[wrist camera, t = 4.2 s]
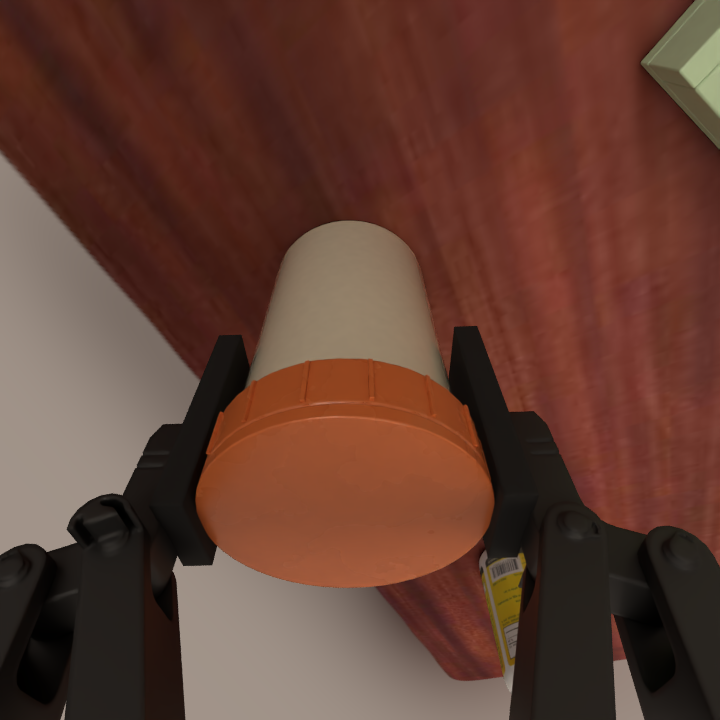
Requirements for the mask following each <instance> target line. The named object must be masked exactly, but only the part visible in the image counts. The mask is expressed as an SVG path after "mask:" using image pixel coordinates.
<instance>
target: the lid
mask: <svg viewBox="0 0 720 720" xmlns="http://www.w3.org/2000/svg"><path fill="white" fill-rule="evenodd" d="M206 454H207V458H206V461H205V464H204V467H203V470H202V473H201V476H200V479H199V482H198V485H197V488H196V496H195V504H196V512H197V514H198V516H199V519H200V521H201V523H202V525H203V527H204V529H205V531H206V533H207V535H208V536H209V538H210V539H211V540H212V541H213V542H214V543H215V544H216V545H217V546H218V547H219V548H220V549H221V550H222V551H223V552H225V553H226V554H228V555H229V556H230V557H232V558H233V559H235V560H237V561H238V562H240V563H242V564H244V565H245V566H247V567H250V568H252V569H254V570H256V571H259V572H261V573H264V574H267V575H269V576H272V577H276V578H279V579H283V580H286V581H291V582H296V583H300V584H306V585H313V586H321V587H335V588H339V587H340V588H354V587H355V588H357V587H372V586H380V585H387V584H393V583H398V582H402V581H406V580H410V579H414V578H417V577H420V576H423V575H426V574H429V573H431V572H434V571H436V570H438V569H441V568H443V567H445V566H447V565H448V564H450V563H452V562H454V561H456V560H457V559H458V558H460V557H461V556H463V555H464V554H466V553H467V552H468V551H469V550H470V549H472V548H473V547H474V546H475V545H476V544H477V543H478V541H479V540H480V539H481V538H482V537H483V535H484V534H485V532H486V531H487V529H488V527H489V525H490V521H491V517H492V513H493V509H494V505H495V498H494V490H493V487H492V483H491V477H490V474H489V470H488V467H487V463H486V459H485V456H484V452H483V449H482V445H481V441H480V440H479V437H478V433H477V430H476V427H475V424H474V422H473V420H472V418H471V416H470V413H469V409H468V406H467V405H466V404H465V405H462V404H461V402H460V401H459V400H458V399H457V398H456V397H455V396H454V395H452V394H451V393H450V392H449V391H448V390H447V389H446V388H445V387H443V386H441V385H440V384H438V383H437V382H435V381H434V380H432V379H430V376H428V375H425V376H424V375H422V374H420V373H418V372H415V371H413V370H411V369H409V368H405V367H401V366H398V365H394V364H389V363H385V362H381V361H374V360H373V359H370V358H368V359H362V358H360V359H350V358H336V359H324V360H315V361H314V360H312V361H309V360H307V361H305V363H300V364H296V365H293V366H290V367H287V368H283V369H280V370H278V371H275V372H272V373H270V374H268V375H267V376H264V377H263V378H261V379H259V380H258V381H255V380H253V381H252V382H251V385H250V386H248V387H247V388H246V389H245V390H244V391H242V392H241V393H239V394H238V395H237V396H236V397H235V399H234V400H233V401H232V402H231V403H230V404H229V405H228V406H227V408H226V409H225V411H224V413H223V412H221V411H220V413H219V415H218V418H217V421H216V424H215V427H214V430H213V433H212V436H211V439H210V442H209V445H208V448H207V451H206Z"/></svg>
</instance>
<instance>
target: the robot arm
mask: <svg viewBox="0 0 720 720" xmlns="http://www.w3.org/2000/svg"><path fill="white" fill-rule="evenodd" d="M249 370H250V367H249V363H248V359H247V355H246V351H245V347H244V343H243V339H242V335H220V336H219V337H218V340H217V342H216V344H215V347H214V349H213V352H212V354H211V356H210V359H209V361H208V364H207V366H206V368H205V371H204V373H203V376H202V378H201V381H200V383H199V386H198V388H197V390H196V393H195V395H194V397H193V400H192V402H191V405H190V407H189V410H188V412H187V415H186V417H185V420H184V422H183V424H164V425H162V426H161V427H160V428H159V429H158V430H157V431H156V432H155V433H154V434H153V435H152V436H151V437H150V439H149V441H148V443H147V445H146V447H145V449H144V451H143V456H141V458H140V460H139V462H138V464H137V468H135V470H134V472H133V474H132V477H131V479H130V481H129V483H128V485H127V487H126V489H125V491H124V493H123V495H118V494H113V493H112V494H106V495H101V496H99V497H96V498H94V499H92V500H90V501H88V502H87V503H86V504H84V505H83V506H82V507H80V508H79V509H78V510H77V512H76V513H75V514H74V515H73V517H72V518H71V519H70V522H69V524H68V527H67V530H68V532H69V533H70V534H71V535H72V537H73V538H74V539H75V540H76V541H77V543H74V544H71V545H69V546H65V547H62V548H59V549H56V550H52V551H49V552H46V551H45V550H44V549H43V548H42V547H40V546H38V545H36V544H24V545H20V546H17V547H14V548H12V549H10V550H8V551H7V552H5V553H3V554H1V555H0V720H60V719H61V716H62V713H63V710H64V706H65V703H66V710H65V720H185V708H184V693H183V677H182V662H181V646H180V631H179V615H178V599H177V584H176V578H175V575H174V573H173V571H172V570H173V567H174V564H175V561H176V558H177V556H178V557H179V559H180V561H181V563H182V564H183V566H201V565H212V564H213V560H214V556H215V552H216V548H217V545H216V544H215V543H214V542H213V541H212V540H211V539H210V538H209V536H208V535H207V533H206V531H205V529H204V527H203V525H202V523H201V521H200V519H199V516H198V514H197V512H196V504H195V496H196V488H197V485H198V482H199V479H200V476H201V473H202V470H203V467H204V464H205V461H206V458H207V454H206V451H207V448H208V445H209V442H210V439H211V436H212V433H213V430H214V427H215V424H216V421H217V418H218V415H219V413H220V411H221V412H223V413H224V411H225V409H226V408H227V406H228V405H229V404H230V403H231V402H232V401H233V400H234V399H235V397H236V396H237V395H238V394H239V393H241V392H242V391H244V388H245V384H246V381H247V377H248V374H249ZM449 385H450V389H451V393H452V395H454V396H455V397H456V398H457V399H458V400H459V401H460V402H461V404H462V405H465V404H466V405H467V406H468V409H469V413H470V416H471V418H472V420H473V422H474V424H475V427H476V430H477V433H478V437H479V440H480V441H481V445H482V449H483V452H484V456H485V459H486V463H487V467H488V470H489V474H490V477H491V483H492V487H493V490H494V498H495V505H494V509H493V513H492V517H491V521H490V525H489V527H488V529H487V531H486V532H485V534H484V535H483V540H484V544H485V549H486V553H487V557H488V558H517V557H518V554H519V551H520V548H521V547H522V551H523V554H524V557H525V561H526V566H525V569H524V571H523V574H522V577H521V579H520V582H519V585H518V587H520V588H522V592H521V603H520V613H519V623H518V633H517V644H516V654H515V664H514V675H513V685H512V696H511V705H510V716H509V720H616V710H615V691H614V690H615V689H614V669H613V649H612V628H611V614H613V615H614V618H615V621H616V625H617V628H618V632H619V635H620V638H621V642H622V645H623V648H624V652H625V655H626V659H627V662H628V665H629V669H630V672H631V676H632V679H633V682H634V686H635V689H636V692H637V696H638V699H639V702H640V706H641V709H642V713H643V716H644V719H645V720H720V567H719V565H718V563H717V561H716V559H715V557H714V556H713V554H712V553H711V551H710V550H709V549H708V547H707V546H706V545H705V544H704V543H703V542H702V541H700V540H699V539H698V538H697V537H696V536H694V535H692V534H691V533H689V532H687V531H685V530H683V529H680V528H676V527H672V526H660V527H656V528H654V529H653V530H651V531H650V532H649V533H648V534H647V535H645V534H642V533H638V532H634V531H630V530H626V529H622V528H618V527H615V526H613V525H610V524H607V523H606V522H604V521H602V520H600V518H599V517H598V516H597V514H595V513H594V512H593V511H591V510H590V509H589V508H587V507H586V506H584V504H583V502H582V501H581V499H580V497H579V495H578V493H577V490H576V488H575V486H574V484H573V482H572V479H571V477H570V475H569V473H568V470H567V468H566V466H565V464H564V461H563V459H562V457H561V455H560V454H559V450H558V448H557V446H556V444H555V442H554V441H553V437H552V435H551V432H550V430H549V428H548V426H547V424H546V423H545V422H544V421H543V420H542V419H541V418H540V417H539V416H538V415H537V414H536V413H535V412H534V411H528V412H509V411H508V408H507V406H506V403H505V400H504V398H503V395H502V392H501V390H500V387H499V384H498V381H497V379H496V376H495V373H494V371H493V368H492V365H491V362H490V360H489V357H488V354H487V352H486V349H485V346H484V343H483V341H482V338H481V335H480V333H479V330H478V327H477V326H463V327H454V334H453V344H452V353H451V362H450V371H449ZM66 700H67V701H66Z"/></svg>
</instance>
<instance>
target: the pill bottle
mask: <svg viewBox="0 0 720 720" xmlns="http://www.w3.org/2000/svg"><path fill="white" fill-rule="evenodd" d="M525 566H526V561H525V557H524V554H523V551H522V547H521V548H520V551H519V554H518V557H517V558H488V557H487V553H486V550H485V551H484V552H483V554H482V555H481V557H480V560H479V568H480V574H481V578H482V583H483V587H484V592H485V596H486V601H487V605H488V610H489V614H490V618H491V623H492V627H493V632H494V636H495V641H496V645H497V650H498V654H499V659H500V664H501V668H502V673H503V677H504V680H505V684H506V686H507V688H508V690H509V691H510V693H511V694H512V685H513V675H514V664H515V654H516V644H517V633H518V623H519V613H520V603H521V592H522V588H520V587H518V585H519V582H520V579H521V577H522V574H523V571H524V569H525Z"/></svg>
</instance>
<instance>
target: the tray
mask: <svg viewBox="0 0 720 720" xmlns="http://www.w3.org/2000/svg"><path fill="white" fill-rule="evenodd" d="M641 65H642V66H643V67H644V68H645V69H646V70H647V72H648V73H649V74H650V75H651V76H652V77H653V78H654V79H655V80H656V81H657V82H658V83H659V85H660V86H661V87H662V88H663V89H664V90H665V91H666V92H667V93H668V94H669V95H670V96H671V98H672V99H673V100H674V101H675V102H676V103H677V104H678V105H679V106H680V107H681V108H682V109H683V111H684V112H685V113H686V114H687V115H688V116H689V117H690V118H691V119H692V120H693V121H694V122H695V124H696V125H697V126H698V127H699V128H700V129H701V130H702V131H703V132H704V133H705V134H706V135H707V137H708V138H709V139H710V140H711V141H712V142H713V143H714V144H715V145H716V146H717V147H718V148H719V150H720V0H695V1H694V2H693V4H692V5H691V6H690V7H689V8H688V9H687V10H686V11H685V13H684V14H683V15H682V16H681V17H680V18H679V19H678V20H677V22H676V23H675V24H674V25H673V26H672V27H671V28H670V30H669V31H668V32H667V33H666V34H665V35H664V36H663V37H662V39H661V40H660V41H659V42H658V43H657V44H656V45H655V46H654V48H653V49H652V50H651V51H650V52H649V53H648V54H647V56H646V57H645V58H644V59H643V60H642V61H641Z"/></svg>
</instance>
